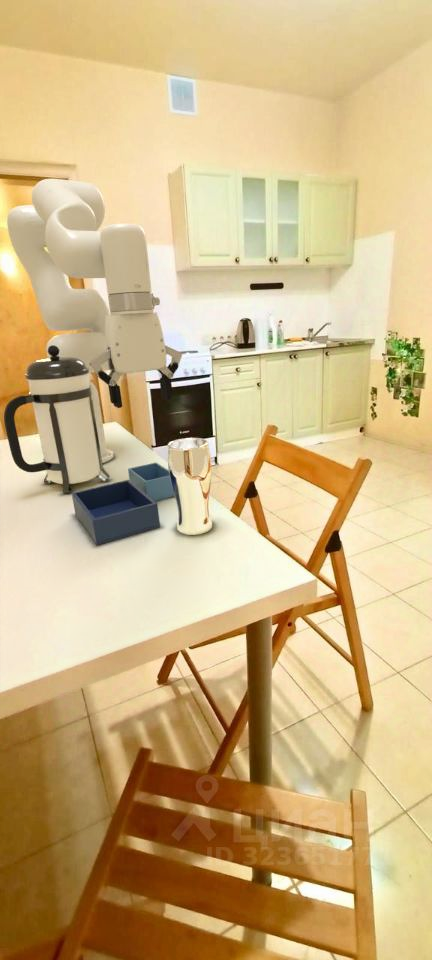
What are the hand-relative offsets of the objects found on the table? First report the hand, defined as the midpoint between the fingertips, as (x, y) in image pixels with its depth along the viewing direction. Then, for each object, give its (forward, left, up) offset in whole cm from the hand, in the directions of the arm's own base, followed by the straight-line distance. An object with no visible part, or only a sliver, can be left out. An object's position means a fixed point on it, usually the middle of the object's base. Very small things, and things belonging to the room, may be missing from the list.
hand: (142, 402), depth 84 cm
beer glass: (+17, +1, -19) cm, 26 cm away
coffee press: (-19, -12, -19) cm, 30 cm away
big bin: (+6, -10, -19) cm, 23 cm away
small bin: (-3, +1, -19) cm, 19 cm away
